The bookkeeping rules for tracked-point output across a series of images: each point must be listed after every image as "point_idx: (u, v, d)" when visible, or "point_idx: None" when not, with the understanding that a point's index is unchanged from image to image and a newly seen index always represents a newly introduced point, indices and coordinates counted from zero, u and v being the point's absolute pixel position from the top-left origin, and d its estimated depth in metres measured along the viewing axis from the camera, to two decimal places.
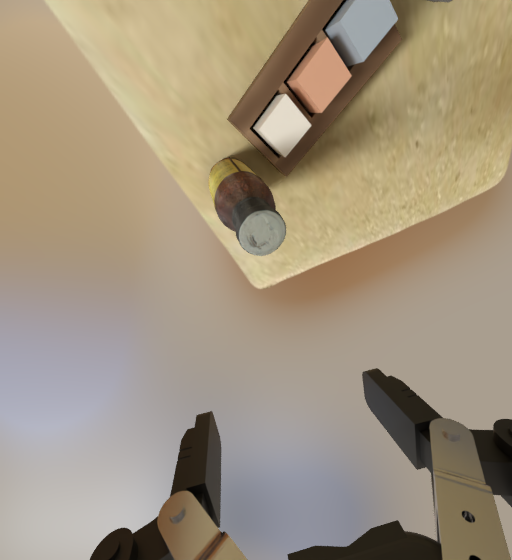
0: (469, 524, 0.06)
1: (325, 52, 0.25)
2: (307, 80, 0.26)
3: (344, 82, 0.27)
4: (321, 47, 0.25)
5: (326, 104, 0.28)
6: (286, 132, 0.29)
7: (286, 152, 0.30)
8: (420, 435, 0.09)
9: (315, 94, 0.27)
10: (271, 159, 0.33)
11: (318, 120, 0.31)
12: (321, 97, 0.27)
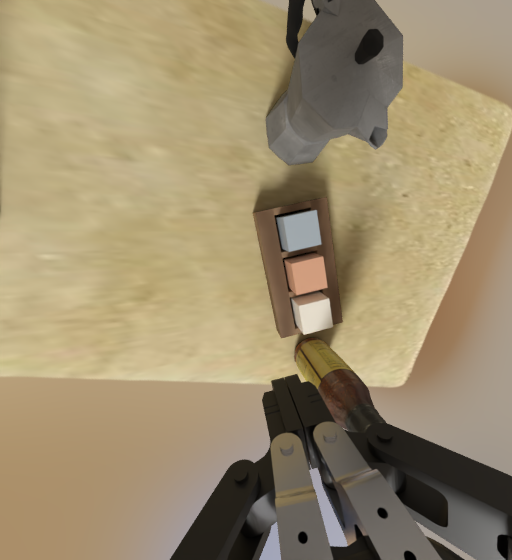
0: (386, 520, 0.06)
1: (297, 268, 0.33)
2: (302, 288, 0.33)
3: (322, 263, 0.33)
4: (293, 270, 0.33)
5: (325, 281, 0.34)
6: (319, 318, 0.35)
7: (330, 324, 0.35)
8: (311, 436, 0.10)
9: (314, 286, 0.34)
10: None
11: None
12: (318, 283, 0.34)
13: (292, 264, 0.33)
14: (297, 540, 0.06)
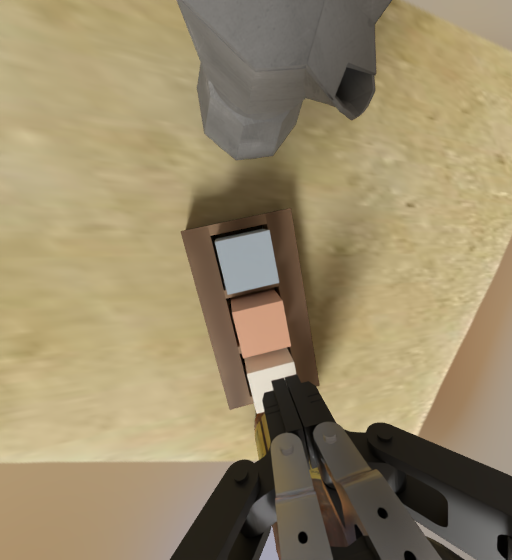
0: (386, 520, 0.06)
1: (242, 320, 0.21)
2: (252, 348, 0.22)
3: (282, 310, 0.21)
4: (235, 322, 0.21)
5: (287, 338, 0.22)
6: None
7: None
8: (311, 437, 0.10)
9: (269, 345, 0.22)
10: None
11: (294, 328, 0.25)
12: (277, 340, 0.22)
13: (234, 313, 0.21)
14: (297, 540, 0.06)
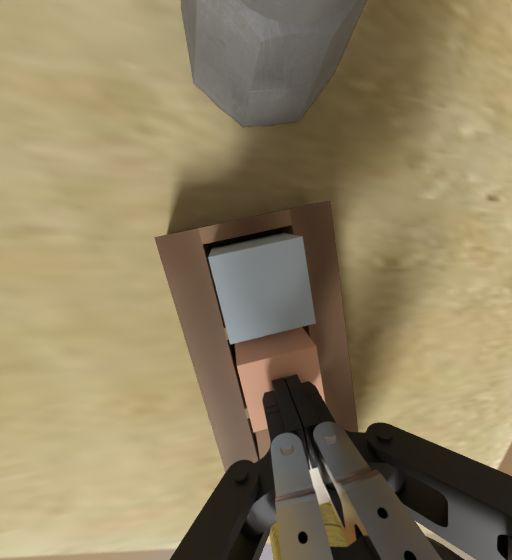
0: (386, 520, 0.06)
1: (253, 376, 0.13)
2: None
3: (315, 361, 0.14)
4: (242, 379, 0.13)
5: None
6: None
7: None
8: (311, 437, 0.10)
9: None
10: None
11: (328, 380, 0.17)
12: None
13: (240, 367, 0.13)
14: (297, 540, 0.06)
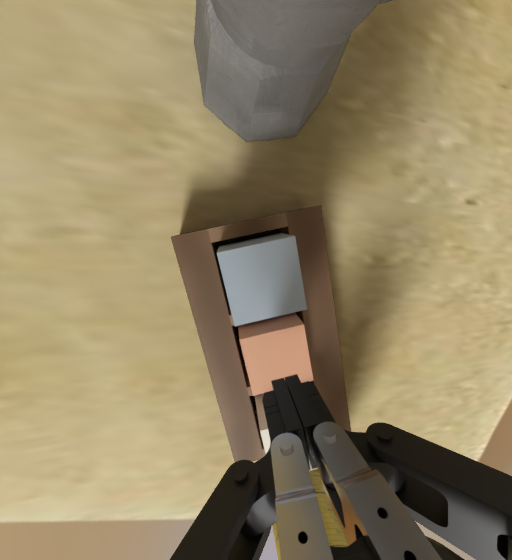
0: (386, 520, 0.06)
1: (252, 348, 0.17)
2: (264, 383, 0.17)
3: (303, 337, 0.17)
4: (244, 351, 0.17)
5: (309, 370, 0.17)
6: None
7: None
8: (311, 437, 0.10)
9: None
10: None
11: (321, 364, 0.19)
12: (296, 373, 0.17)
13: (242, 340, 0.16)
14: (297, 540, 0.06)
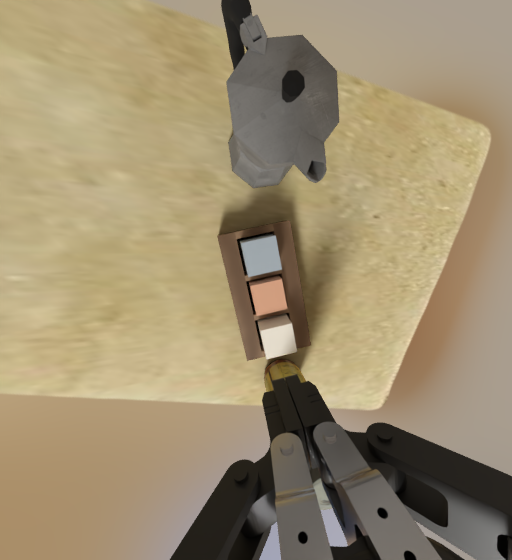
0: (386, 521, 0.06)
1: (256, 291, 0.34)
2: (262, 309, 0.34)
3: (281, 285, 0.34)
4: (252, 292, 0.34)
5: (285, 303, 0.35)
6: (282, 342, 0.34)
7: (294, 349, 0.35)
8: (311, 436, 0.10)
9: (273, 308, 0.35)
10: None
11: (292, 303, 0.36)
12: (278, 304, 0.34)
13: (251, 286, 0.34)
14: (297, 540, 0.06)
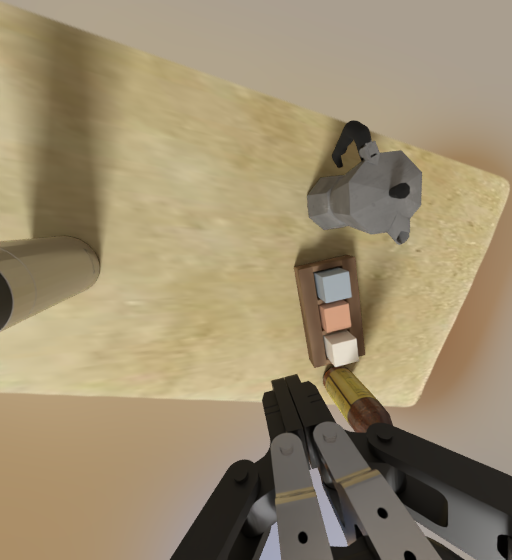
0: (386, 520, 0.06)
1: (328, 313, 0.42)
2: (332, 327, 0.43)
3: (348, 308, 0.43)
4: (325, 314, 0.42)
5: (349, 322, 0.43)
6: (347, 354, 0.43)
7: (357, 359, 0.43)
8: (311, 437, 0.10)
9: (340, 326, 0.43)
10: None
11: (353, 321, 0.45)
12: (344, 323, 0.43)
13: (324, 309, 0.42)
14: (297, 540, 0.06)
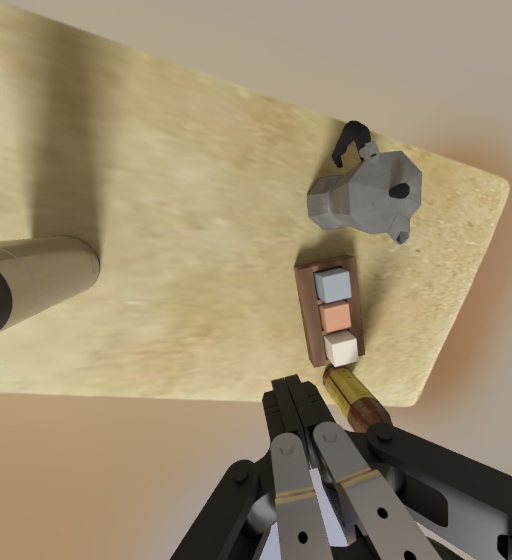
0: (386, 520, 0.06)
1: (328, 313, 0.42)
2: (332, 327, 0.43)
3: (348, 308, 0.43)
4: (325, 314, 0.42)
5: (349, 322, 0.43)
6: (347, 354, 0.43)
7: (356, 358, 0.43)
8: (311, 436, 0.10)
9: (340, 326, 0.43)
10: None
11: (353, 321, 0.45)
12: (344, 323, 0.43)
13: (324, 309, 0.42)
14: (297, 540, 0.06)
